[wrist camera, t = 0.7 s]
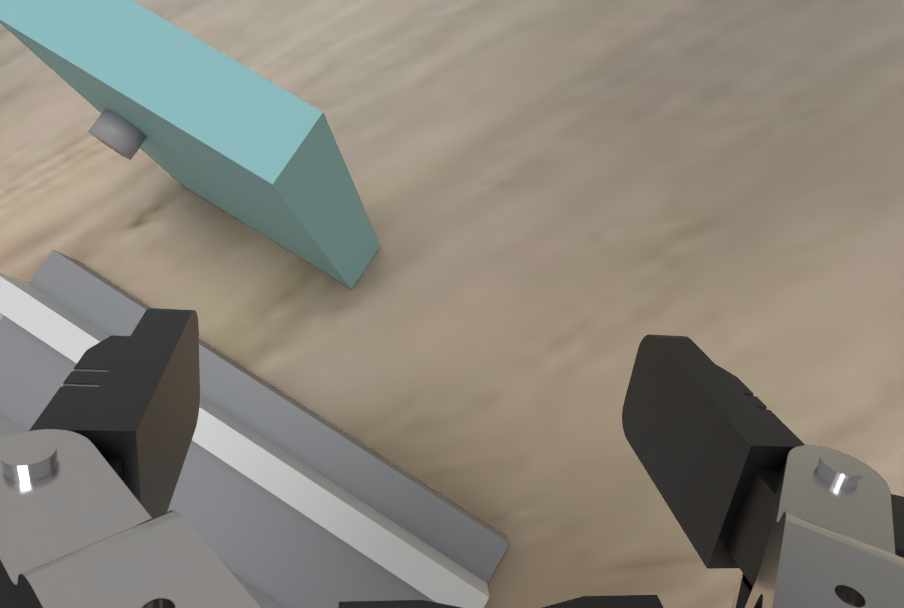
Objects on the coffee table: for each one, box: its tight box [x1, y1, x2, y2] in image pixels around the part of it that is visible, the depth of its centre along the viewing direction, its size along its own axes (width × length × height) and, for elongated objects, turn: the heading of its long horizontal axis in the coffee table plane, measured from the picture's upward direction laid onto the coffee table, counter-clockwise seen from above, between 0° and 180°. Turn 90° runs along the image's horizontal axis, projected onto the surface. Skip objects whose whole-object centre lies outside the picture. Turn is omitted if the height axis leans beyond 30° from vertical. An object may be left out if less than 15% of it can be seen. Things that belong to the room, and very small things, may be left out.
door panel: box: [0, 0, 380, 289], centre depth 26 cm, size 4×10×14 cm, turn 58°
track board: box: [0, 250, 509, 608], centre depth 29 cm, size 10×24×4 cm, turn 58°
